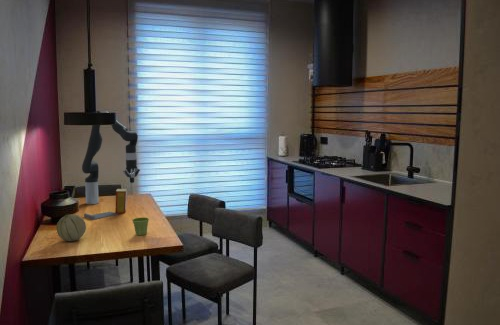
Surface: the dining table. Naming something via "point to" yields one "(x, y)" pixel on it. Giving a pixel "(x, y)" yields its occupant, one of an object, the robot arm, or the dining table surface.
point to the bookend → (99, 215)
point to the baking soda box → (121, 200)
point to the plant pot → (140, 225)
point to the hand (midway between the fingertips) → (132, 182)
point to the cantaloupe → (71, 227)
